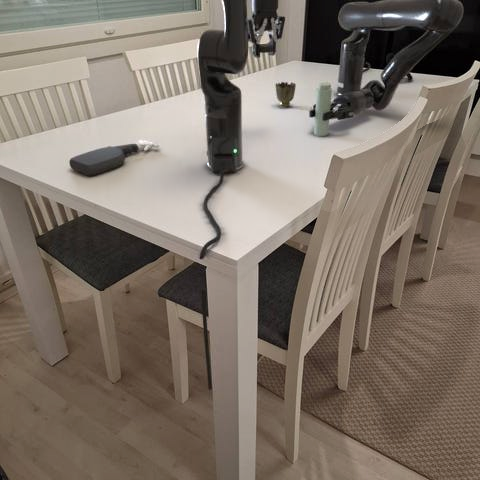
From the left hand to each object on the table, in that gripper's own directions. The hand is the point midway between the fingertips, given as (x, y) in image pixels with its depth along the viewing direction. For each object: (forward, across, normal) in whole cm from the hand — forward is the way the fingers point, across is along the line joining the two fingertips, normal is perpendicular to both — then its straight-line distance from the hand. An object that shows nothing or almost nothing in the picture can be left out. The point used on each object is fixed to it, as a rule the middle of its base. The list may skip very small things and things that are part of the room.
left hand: (264, 56), depth 132 cm
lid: (-3, 0, 0) cm, 3 cm away
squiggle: (+23, +92, +15) cm, 96 cm away
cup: (+23, +24, +17) cm, 37 cm away
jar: (+23, +12, -14) cm, 29 cm away
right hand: (+16, +9, -14) cm, 24 cm away
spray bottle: (+23, -48, +6) cm, 53 cm away
